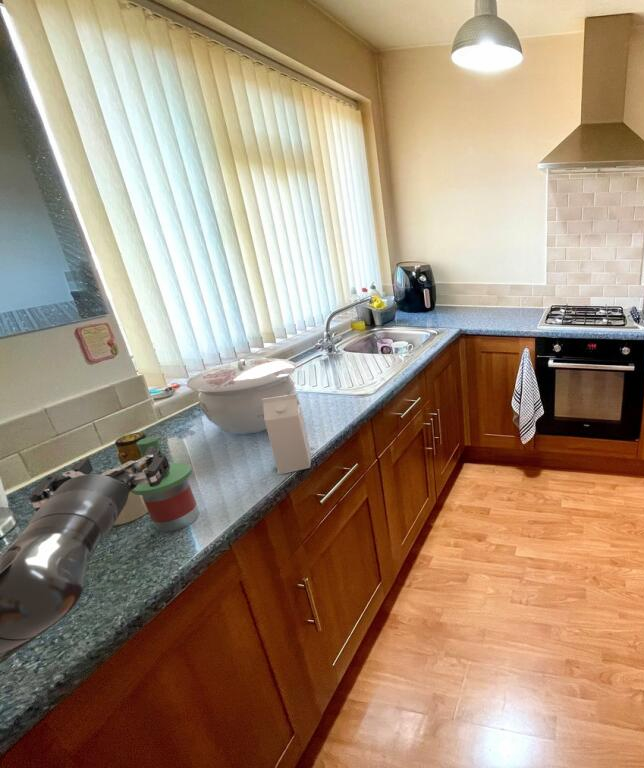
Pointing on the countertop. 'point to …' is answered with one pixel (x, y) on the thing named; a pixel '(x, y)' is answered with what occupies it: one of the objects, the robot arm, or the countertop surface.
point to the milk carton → (287, 433)
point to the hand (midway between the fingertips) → (122, 457)
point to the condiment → (129, 448)
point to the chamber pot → (242, 392)
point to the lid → (172, 477)
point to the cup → (132, 508)
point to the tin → (172, 508)
